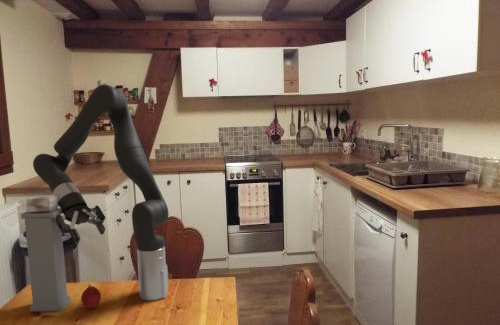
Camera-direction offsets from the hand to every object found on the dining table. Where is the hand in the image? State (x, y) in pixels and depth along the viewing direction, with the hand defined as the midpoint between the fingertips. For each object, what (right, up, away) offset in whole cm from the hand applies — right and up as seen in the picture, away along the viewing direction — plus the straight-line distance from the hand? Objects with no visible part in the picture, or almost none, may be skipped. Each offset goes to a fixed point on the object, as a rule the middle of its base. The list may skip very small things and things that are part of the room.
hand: (91, 236), depth 116 cm
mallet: (-16, +9, +4) cm, 18 cm away
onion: (-1, -24, +3) cm, 24 cm away
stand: (-15, -24, +4) cm, 28 cm away
